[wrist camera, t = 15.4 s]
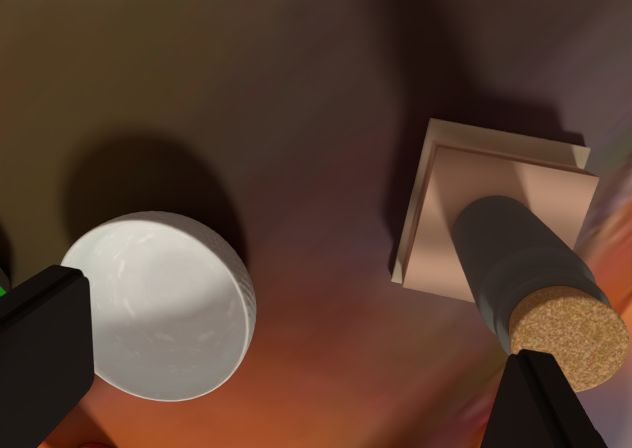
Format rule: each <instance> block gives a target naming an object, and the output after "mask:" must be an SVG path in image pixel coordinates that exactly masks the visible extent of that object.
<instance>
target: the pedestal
mask: <svg viewBox="0 0 632 448" xmlns="http://www.w3.org/2000/svg"><path fill="white" fill-rule="evenodd" d="M590 150H591V148H588V147H586V146H580V145H575V144H569V143H564V142H559V141H553V140H548V139H542V138H537V137H531V136H526V135H521V134H515V133H510V132H504V131H499V130H493V129H488V128H482V127H477V126H472V125H466V124H461V123H455V122H450V121H444V120H439V119H433V118H430V120H429V124H428V128H427V132H426V137H425V141H424V145H423V149H422V153H421V157H420V161H419V165H418V170H417V174H416V178H415V182H414V186H413V190H412V194H411V198H410V202H409V207H408V211H407V215H406V219H405V223H404V227H403V231H402V235H401V240H400V244H399V248H398V252H397V256H396V260H395V264H394V268H393V273H392V282H397V283H402V285H403V287H405V288H410V289H414V290H419V291H424V292H428V293H433V294H438V295H442V296H447V297H452V298H456V299H461V300H466V301H470V302H475V300H474V298H473V295H472V293H471V290H470V287H469V285H468V282H467V280H466V277H465V274H464V272H463V269H462V267H461V264H460V261H459V259H458V256H457V253H456V250H455V247H454V243H453V228H454V224H455V221H456V219H457V218H458V216H459V214H460V213H461V212H462V211H463V210H464V209H465V208H466V207H467V206H468V205H469V204H471V203H472V202H474V201H476V200H478V199H481V198H483V197H488V196H506V197H510V198H513V199H515V200H517V201H519V202H520V203H522V204H523V205H525V206H526V207H527V208H528V209H529V210H530V211H531V212H533V213H534V214H535V215H536V216H537V217H538V218H539V219H540V220H541V221H542V222H543V223H544V224H545V225H546V226H548V227H549V228H550V229H551V230H552V231H553V232H554V233H555V234H556V235H557V236H558V237H559V238H560V239H561V240H562V241H563V242H564V243H565V244H566V245H567V246H568V247H569V248H570V249H571V250H573V248H574V245H575V242H576V240H577V237H578V234H579V232H580V229H581V226H582V224H583V221H584V218H585V216H586V213H587V210H588V208H589V205H590V202H591V200H592V197H593V194H594V192H595V189H596V186H597V184H598V181H599V178H600V177H598V176H595V175H593V174H591V173H589V172H587V171H585V170H583V169H584V166H585V164H586V161H587V158H588V155H589V153H590Z"/></svg>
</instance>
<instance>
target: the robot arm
mask: <svg viewBox="0 0 632 448" xmlns="http://www.w3.org/2000/svg"><path fill="white" fill-rule="evenodd" d="M94 374H95V372H94V354H93V335H92V316H91V298H90V283H89V279H88V278H87V277H86V276H84V274H83V272H82V271H81V270H80V269H77V268H72V267H66V266H60V265H52V266H49V267H48V268H46V269H44V270H43V271H41V272H40V273H38V274H36V275H35V276H33V277H31V278H30V279H28V280H27V281H25V282H23V283H22V284H20V285H18V286H17V287H15V288H13V289H12V290H10V291H9V292H7V293H5V294H4V295H2V296H0V448H37V447H38V446H39V445H40V444H41V443H42V442H43V441H44V439H45V438H46V437H47V436H48V435H49V434H50V433H51V432H52V431H53V430H54V428H55V427H56V426H57V425H58V424H59V423H60V422H61V421H62V420H63V418H64V417H65V416H66V415H67V414H68V413H69V412H70V411H71V410H72V408H73V407H74V406H75V405H76V404H77V403H78V402H79V401H80V400H81V398H82V397H83V396H84V395H85V394H86V393H87V392H88V390H89V389H90V387H91V386H92V383H93V380H94ZM480 448H608V447H607V446H606V444H605V442H604V440H603V439H602V437H601V435H600V434H599V433H598V432H597V430H595V428H594V426H593V425H592V423H591V421H590V419H589V417H588V416H587V414H586V412H585V410H584V409H583V407H582V405H581V403H580V401H579V400H578V398H577V396H576V394H575V393H574V391H573V389H572V387H571V386H570V384H569V382H568V380H567V379H566V377H565V375H564V373H563V371H562V370H561V368H560V366H559V364H558V363H557V361H556V359H555V357H554V356H553V355H552V354H550V353H546V352H540V351H535V350H529V349H521V350H520V351H519V352H518V354H510V356H509V357H508V360H507V363H506V366H505V369H504V373H503V376H502V379H501V382H500V385H499V389H498V392H497V395H496V398H495V402H494V405H493V408H492V411H491V414H490V418H489V421H488V424H487V427H486V430H485V434H484V437H483V440H482V443H481V446H480Z"/></svg>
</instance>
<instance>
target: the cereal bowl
mask: <svg viewBox="0 0 632 448" xmlns="http://www.w3.org/2000/svg"><path fill="white" fill-rule="evenodd" d="M60 266H66V267H72V268H77V269H80V270H81V271H82V272H83V274H84V276H86V277H87V278H88V279H89V283H90V298H91V316H92V335H93V354H94V372H95V373H96V374H97V375H98V376H100V377H101V378H102V379H104V380H105V381H107V382H108V383H110V384H111V385H113V386H115V387H116V388H118V389H120V390H122V391H125V392H127V393H129V394H132V395H135V396H138V397H141V398H145V399H150V400H157V401H183V400H188V399H193V398H196V397H199V396H202V395H204V394H207V393H209V392H211V391H213V390H214V389H216V388H217V387H219V386H220V385H222V384H223V383H224V382H225V381H226V380H228V379H229V377H230V376H231V375H232V374H233V373H234V372H235V371H236V369H237V367H238V366H239V364H240V363H241V362H242V360H243V357H244V356H245V354H246V351H247V349H248V348H249V345H250V341H251V339H252V335H253V332H254V325H255V322H256V302H255V294H254V289H253V284H252V282H251V279H250V276H249V274H248V272H247V270H246V267H245V266H244V264H243V262H242V260H241V259H240V258H239V256H238V254H236V252H235V250H234V249H233V248H232V247H231V246H230V245H229V244H228V242H227V241H225V240H224V239H223V238H222V237H220V235H219V234H217V233H216V232H215V231H214V230H211V229H210V228H209V227H207V226H205V225H203V224H201V223H200V222H198V221H195V220H194V219H191V218H189V217H185V216H183V215H179V214H174V213H168V212H162V211H148V212H144V211H143V212H137V213H130V214H127V215H122V216H120V217H117V218H114V219H112V220H109V221H107V222H105V223H103V224H100V225H99V226H97V227H95V228H93V229H92V230H90V231H89V232H87V233H86V234H84V235H83V236H82V237H80V238H79V239H78V240H77V241H76V242H75V243H74V244H73V245H72V246H71V248H70V249H69V250H68V252H67V253H66V255H65V256H64V258H63V260H62V263H61V265H60Z"/></svg>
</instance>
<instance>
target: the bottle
mask: <svg viewBox="0 0 632 448" xmlns="http://www.w3.org/2000/svg"><path fill="white" fill-rule="evenodd" d="M453 243H454V247H455V250H456V253H457V256H458V259H459V261H460V264H461V267H462V269H463V272H464V274H465V277H466V280H467V282H468V285H469V287H470V290H471V293H472V295H473V298H474V300H475V303H476V305H477V307H478V310H479V312H480V314H481V317H482V318H483V320H484V322H485V323H486V325H487V326H488V328H489V329H490V330H491V331H492V332H493V333H494V334H495V335H497V337H498V340H499V342H500V344H501V346H502V347H503V349H504V350H505V351H506V353H507V354H508V355H509V356H510V354H518V352H519V351H520V350H521V349H529V350H535V351H540V352H546V353H550V354H552V355H553V356H554V357H555V359H556V361H557V363H558V364H559V366H560V368H561V370H562V371H563V373H564V375H565V377H566V379H567V380H568V382H569V384H570V386H571V387H572V389H573V391H574V392H578V391H584V390H587V389H590V388H593V387H595V386H597V385H599V384H601V383H603V382H605V381H606V380H607V379H609V378H610V377H611V376H612V375H613V374H615V373H616V372H617V370H618V369H619V368H620V366H621V365H622V363H623V362H624V360H625V357H626V354H627V351H628V346H629V336H628V331H627V328H626V325H625V324H624V321H623V320H622V318H621V317H620V315H619V314H618V313H617V312H616V311H615V310H614V309H613V308H612V307H611V305H610V303H609V300H608V298H607V297H606V295H605V294H604V293H603V291H602V290H601V289H600V288H599V287H598V286H597V285H596V282H595V278H594V276H593V274H592V272H591V271H590V269H589V268H588V266H587V265H586V264H585V263H584V262H583V261H582V260H581V259H580V258H579V256H578V255H576V254H575V253H574V252H573V251H572V250H571V249H570V248H569V247H568V246H567V245H566V244H565V243H564V242H563V241H562V240H561V239H560V238H559V237H558V236H557V235H556V234H555V233H554V232H553V231H552V230H551V229H550V228H549V227H548V226H546V225H545V224H544V223H543V222H542V221H541V220H540V219H539V218H538V217H537V216H536V215H535V214H534V213H533V212H531V211H530V210H529V209H528V208H527V207H526V206H525V205H523V204H522V203H520V202H519V201H517V200H515V199H513V198H510V197H506V196H488V197H483V198H481V199H478V200H476V201H474V202H472V203H471V204H469V205H468V206H467V207H466V208H465V209H464V210H463V211H462V212H461V213H460V214H459V216H458V218H457V219H456V221H455V224H454V228H453Z"/></svg>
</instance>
